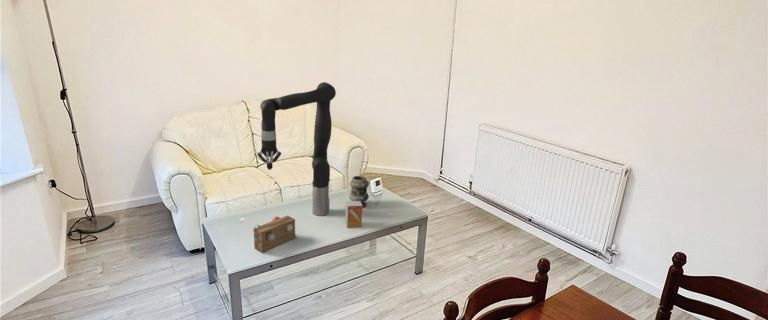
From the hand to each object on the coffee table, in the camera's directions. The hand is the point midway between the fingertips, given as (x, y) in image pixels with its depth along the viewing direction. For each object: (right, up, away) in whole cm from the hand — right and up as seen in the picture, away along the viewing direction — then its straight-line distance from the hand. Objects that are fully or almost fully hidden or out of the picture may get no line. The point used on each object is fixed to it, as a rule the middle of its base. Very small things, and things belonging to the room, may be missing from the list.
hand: (269, 169), depth 226 cm
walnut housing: (+8, -37, -18) cm, 41 cm away
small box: (+45, -31, +6) cm, 55 cm away
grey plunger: (+4, -32, -24) cm, 41 cm away
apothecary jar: (+46, -23, +32) cm, 61 cm away
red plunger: (+11, -30, -14) cm, 34 cm away
